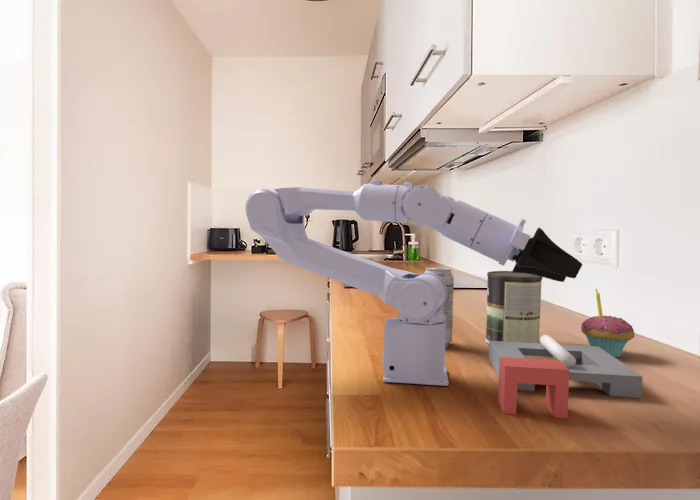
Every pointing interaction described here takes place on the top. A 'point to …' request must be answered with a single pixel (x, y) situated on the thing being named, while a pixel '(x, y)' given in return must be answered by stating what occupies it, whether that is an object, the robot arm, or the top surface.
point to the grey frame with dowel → (575, 364)
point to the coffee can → (513, 307)
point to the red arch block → (534, 373)
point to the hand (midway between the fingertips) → (572, 273)
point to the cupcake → (607, 331)
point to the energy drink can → (448, 305)
